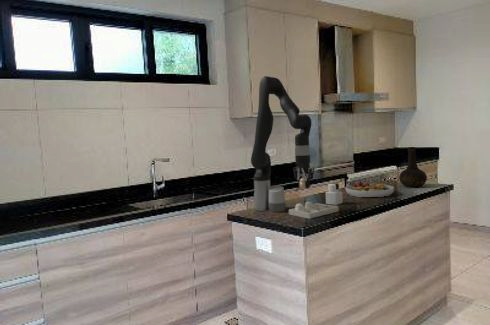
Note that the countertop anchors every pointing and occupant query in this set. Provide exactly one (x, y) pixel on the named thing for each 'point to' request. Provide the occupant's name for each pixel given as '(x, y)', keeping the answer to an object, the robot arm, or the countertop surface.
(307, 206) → the white egg middle
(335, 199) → the medicine bottle
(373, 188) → the bowl
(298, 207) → the white egg near
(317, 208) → the egg carton
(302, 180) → the tan egg
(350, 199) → the countertop surface
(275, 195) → the smart speaker
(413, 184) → the dark brown vase
